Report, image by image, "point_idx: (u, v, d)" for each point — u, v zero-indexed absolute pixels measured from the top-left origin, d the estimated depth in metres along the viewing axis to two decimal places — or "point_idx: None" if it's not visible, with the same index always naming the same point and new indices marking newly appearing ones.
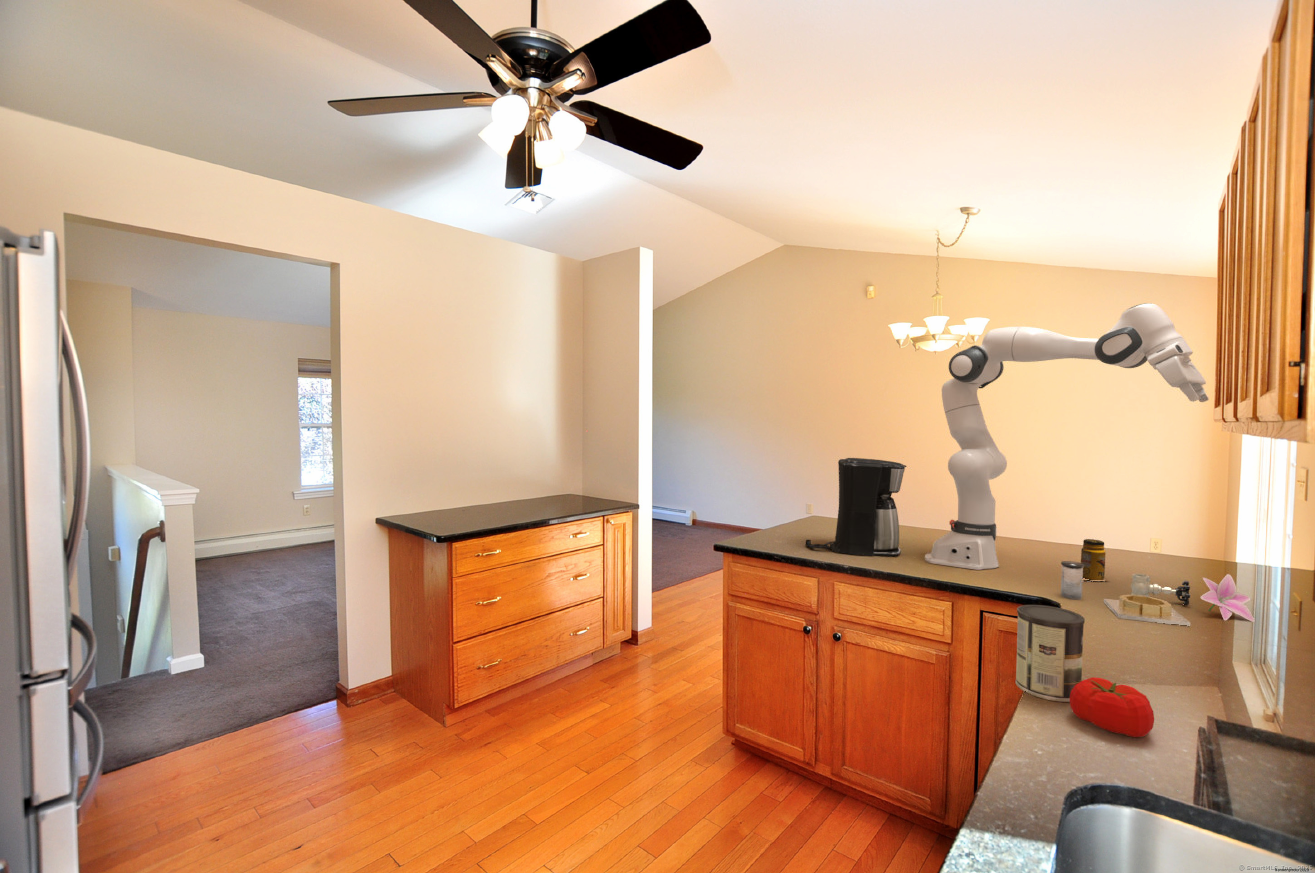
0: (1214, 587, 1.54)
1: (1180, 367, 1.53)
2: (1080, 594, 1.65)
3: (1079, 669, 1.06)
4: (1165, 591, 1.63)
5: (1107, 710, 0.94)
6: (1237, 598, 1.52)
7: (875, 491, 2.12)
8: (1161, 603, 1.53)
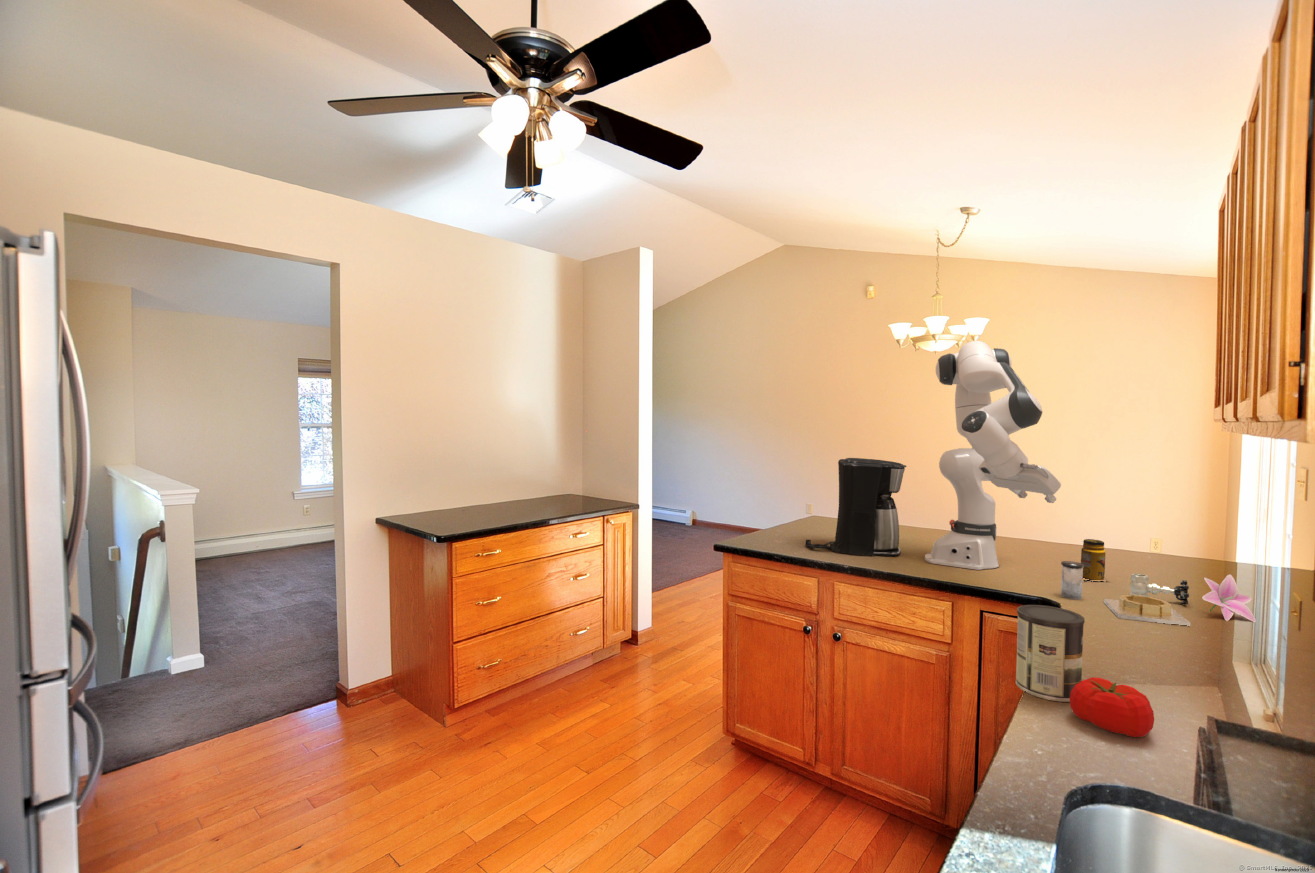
0: (1215, 587, 1.54)
1: None
2: (1080, 594, 1.65)
3: (1079, 669, 1.06)
4: (1164, 591, 1.63)
5: (1107, 710, 0.94)
6: (1238, 598, 1.52)
7: (875, 491, 2.12)
8: (1161, 603, 1.53)
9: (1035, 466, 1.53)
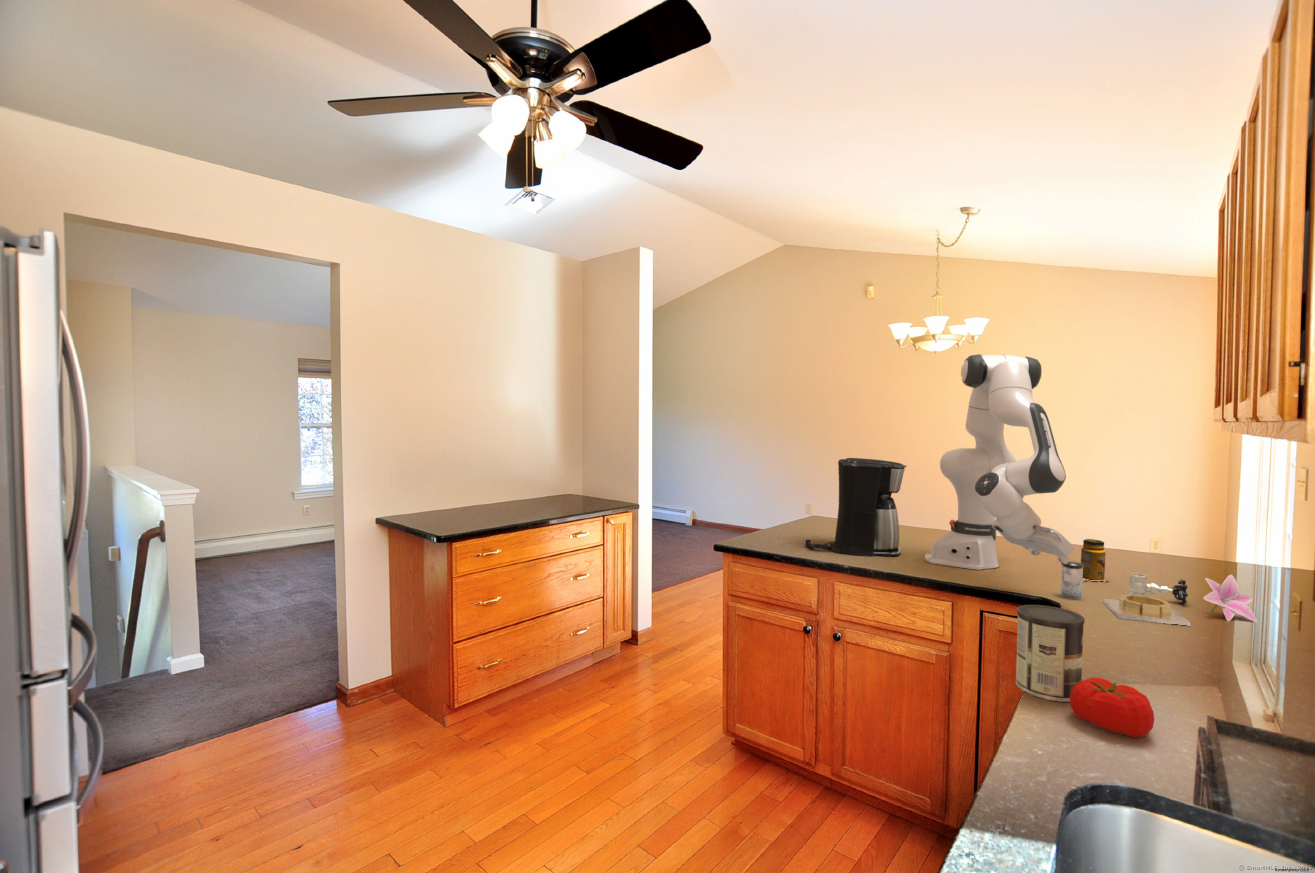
0: (1216, 587, 1.53)
1: None
2: (1080, 594, 1.65)
3: (1079, 669, 1.06)
4: (1162, 590, 1.64)
5: (1107, 710, 0.94)
6: (1239, 598, 1.52)
7: (875, 491, 2.12)
8: (1161, 603, 1.53)
9: (1048, 530, 1.55)
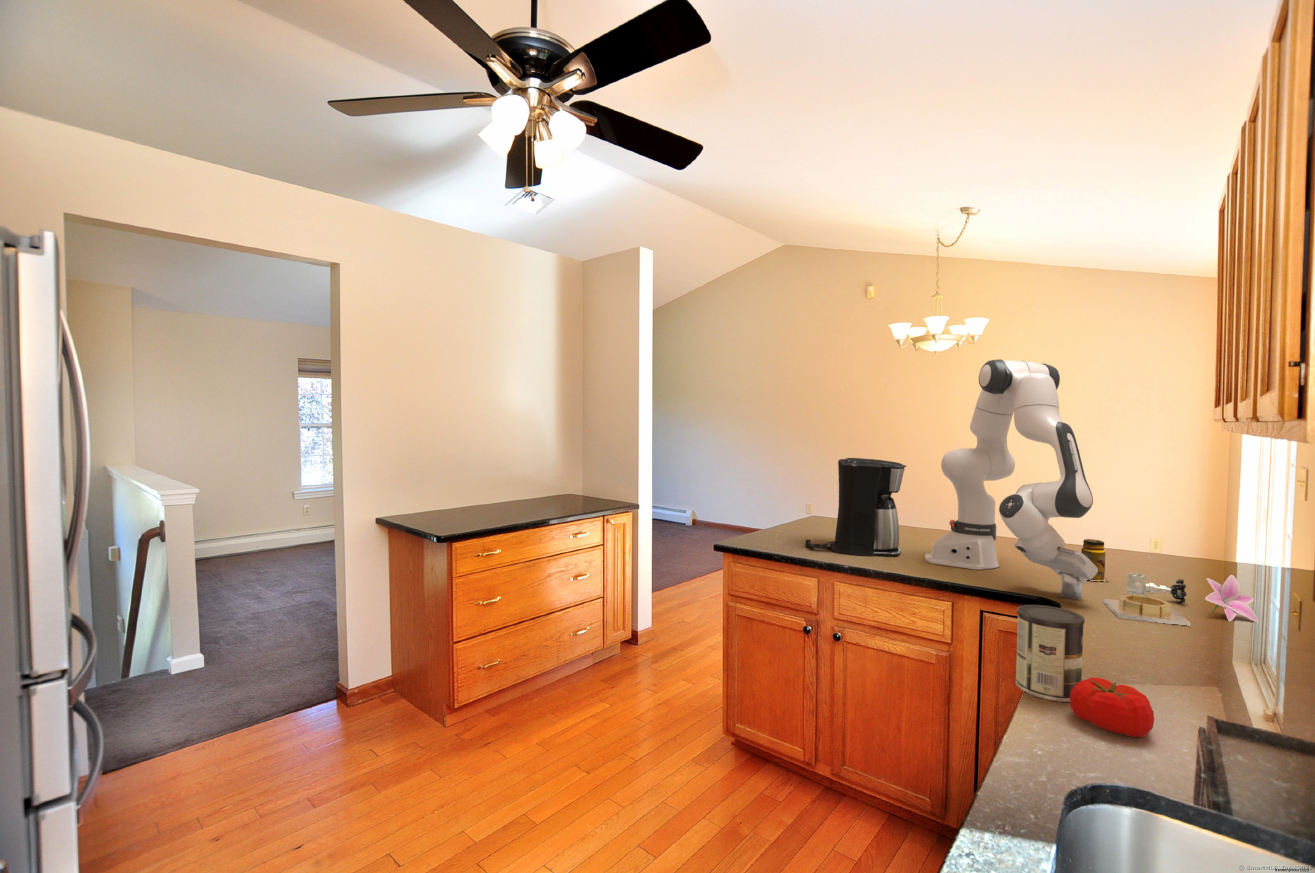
0: (1218, 588, 1.53)
1: None
2: (1080, 594, 1.65)
3: (1079, 669, 1.06)
4: (1161, 590, 1.64)
5: (1107, 710, 0.94)
6: (1241, 599, 1.52)
7: (875, 491, 2.12)
8: (1161, 603, 1.53)
9: (1072, 552, 1.57)
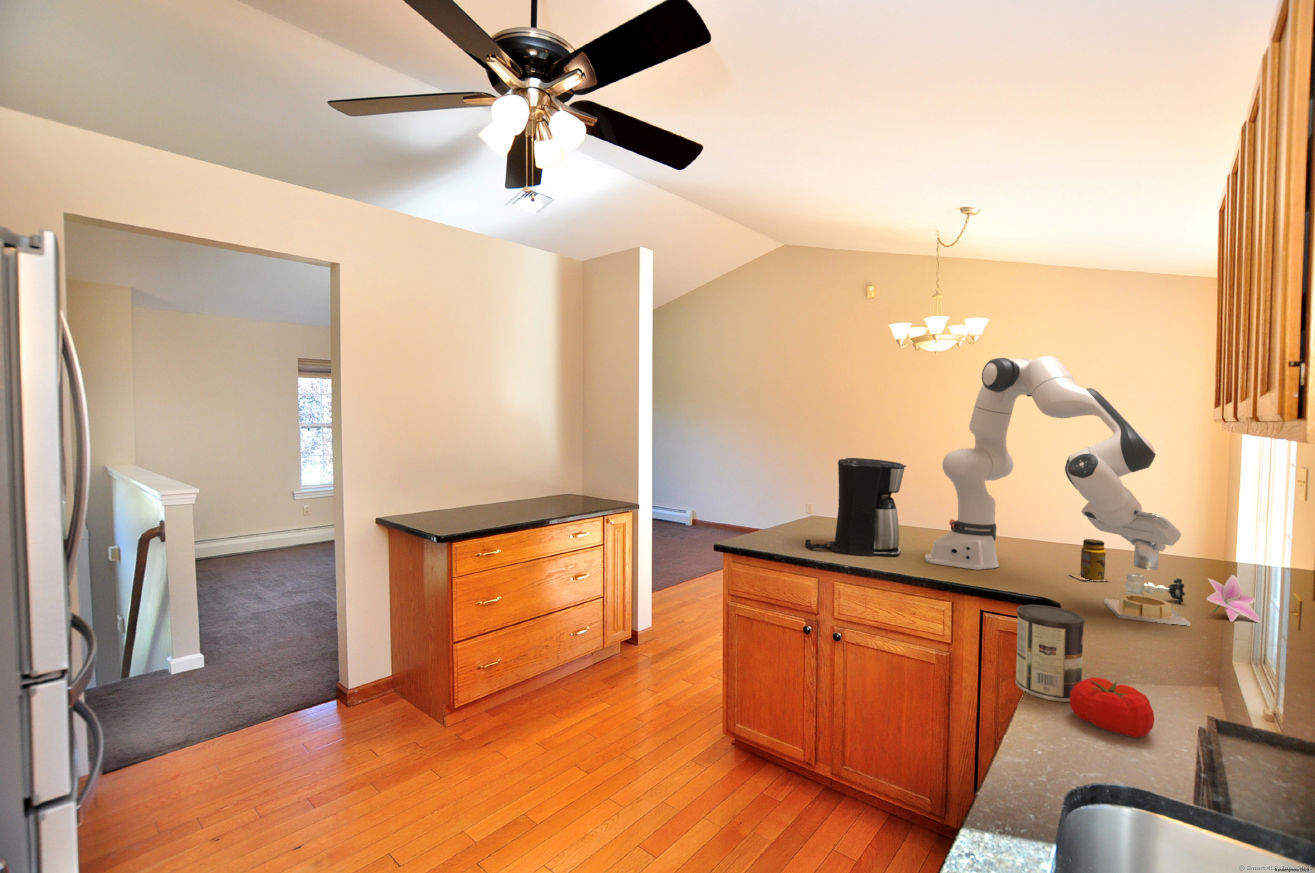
0: (1219, 588, 1.53)
1: (1091, 522, 1.61)
2: (1157, 564, 1.51)
3: (1079, 669, 1.06)
4: (1159, 589, 1.65)
5: (1107, 710, 0.94)
6: (1242, 599, 1.52)
7: (875, 491, 2.12)
8: (1161, 603, 1.53)
9: (1153, 515, 1.42)
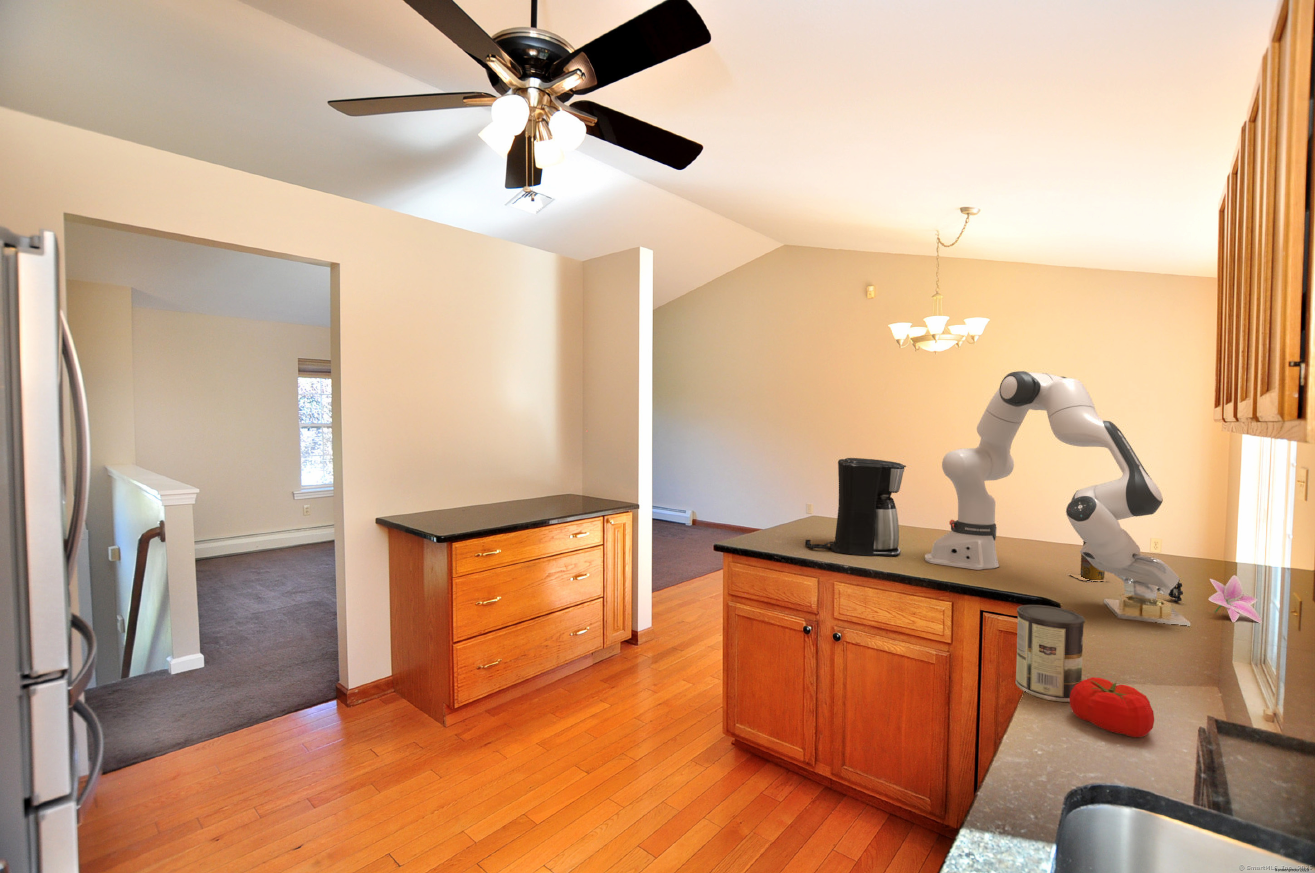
0: (1221, 588, 1.53)
1: (1089, 561, 1.61)
2: None
3: (1079, 669, 1.06)
4: None
5: (1107, 710, 0.94)
6: (1244, 599, 1.52)
7: (875, 491, 2.12)
8: (1161, 603, 1.53)
9: (1151, 560, 1.43)
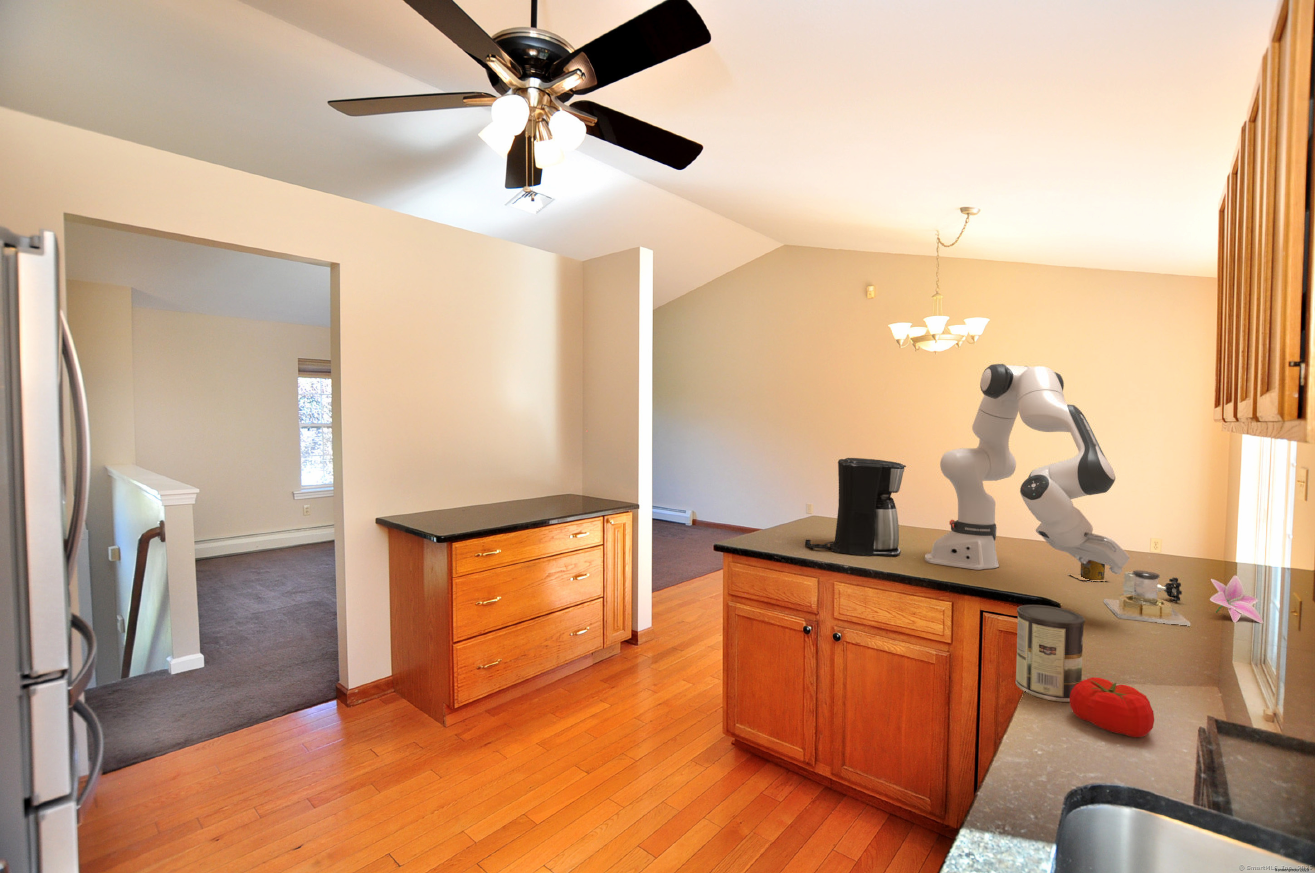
0: (1222, 588, 1.53)
1: None
2: None
3: (1079, 669, 1.06)
4: None
5: (1107, 710, 0.94)
6: (1245, 599, 1.51)
7: (875, 491, 2.12)
8: (1161, 603, 1.53)
9: (1102, 538, 1.42)
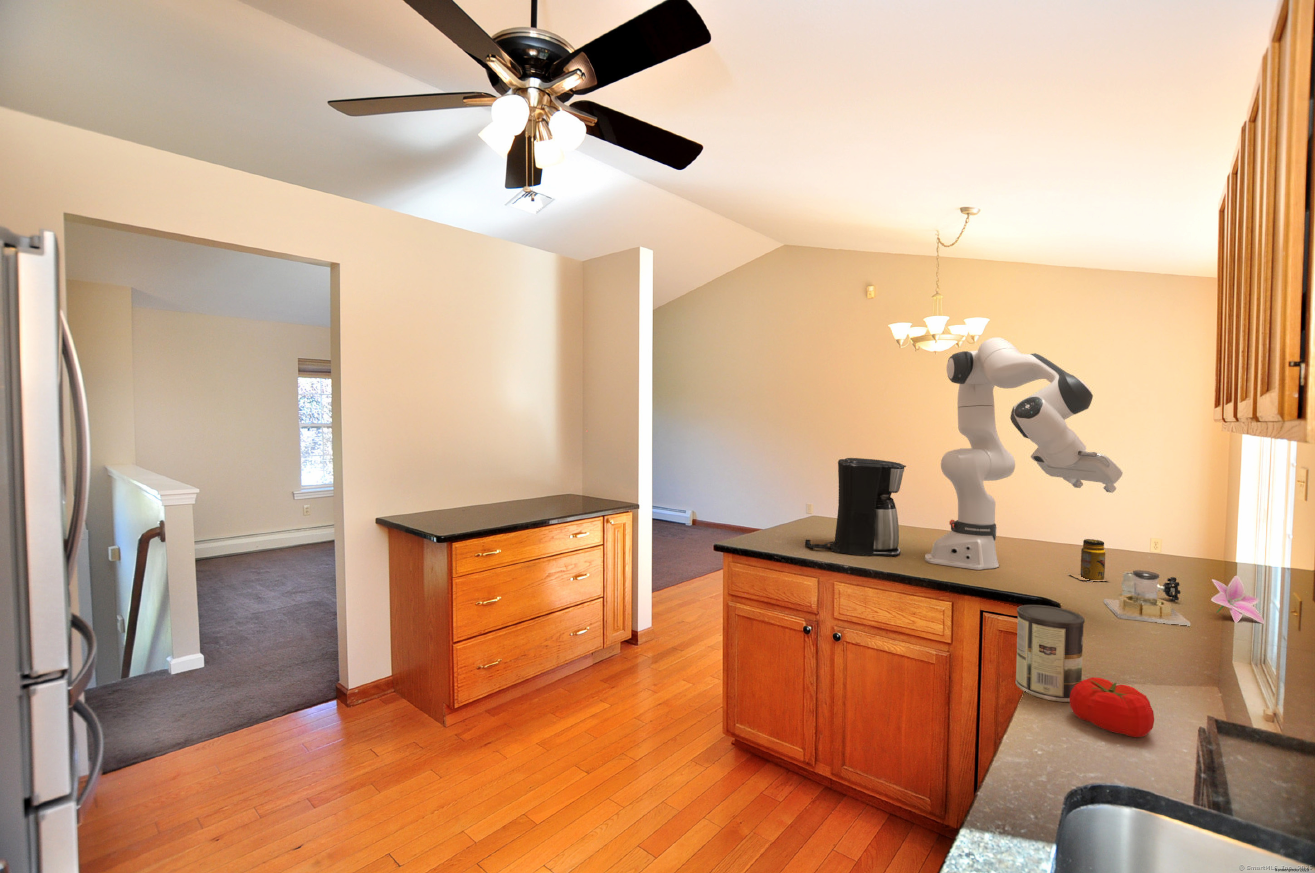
0: (1223, 589, 1.52)
1: (1041, 468, 1.64)
2: None
3: (1079, 669, 1.06)
4: None
5: (1107, 710, 0.94)
6: (1246, 600, 1.51)
7: (875, 491, 2.12)
8: (1161, 603, 1.53)
9: (1095, 454, 1.46)
